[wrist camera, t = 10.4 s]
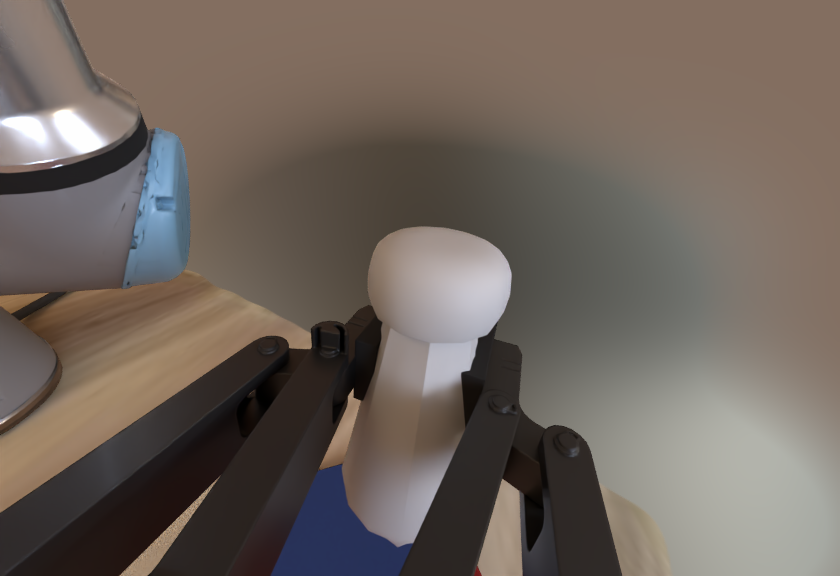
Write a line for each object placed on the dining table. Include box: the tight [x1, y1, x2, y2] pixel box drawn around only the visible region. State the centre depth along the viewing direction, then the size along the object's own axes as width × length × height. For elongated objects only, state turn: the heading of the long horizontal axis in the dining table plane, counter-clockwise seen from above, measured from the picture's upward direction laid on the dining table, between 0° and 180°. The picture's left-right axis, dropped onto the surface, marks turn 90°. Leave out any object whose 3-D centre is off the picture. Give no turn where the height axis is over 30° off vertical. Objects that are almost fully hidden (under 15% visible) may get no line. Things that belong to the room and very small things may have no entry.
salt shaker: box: [342, 226, 512, 547], centre depth 13 cm, size 6×6×13 cm
